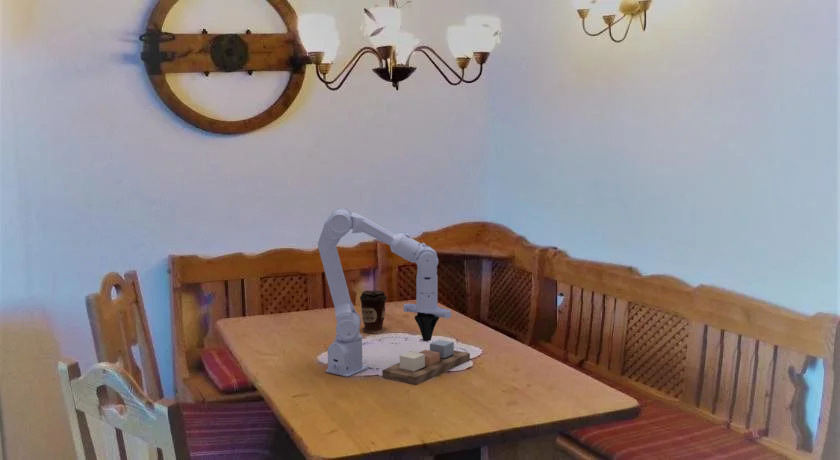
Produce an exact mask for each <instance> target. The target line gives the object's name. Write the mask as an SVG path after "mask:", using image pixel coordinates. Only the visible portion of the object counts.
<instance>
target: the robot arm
mask: <svg viewBox="0 0 840 460" xmlns="http://www.w3.org/2000/svg"><path fill="white" fill-rule="evenodd" d="M351 230H352V232H351V234H358V233H359V234H360V233H363V234H366V235H368V236H370V237H372V238H374V239H376V240H378V241H380V242H382V243H384V244H385V245H388V246H389V247H390V251H391V253H393V254H395V255H397V256H399V257H401V258H403V260H406V261H408V262H410V263H415V264H416V266H417V272H416V273H417V274H416V280H415V281H416V296H415V297H416V299H415V300H416V302H415V303H416V304H414V303H405V304H403V312H404V313H408V312H409V313H415V314H416V315H414V320H415V322H416V323H417V325H418V328H419V330H420V334H421V337H422V338H421V339H422V342H429V341H432V336H433V334H434V329H435V326H436V325H437V322H439V319H440V318H444V319H445V320H448V319H451V318H452V310H450V309H445V308H443V307H439V306H438V277H439V276H438V274H437V273H438V268H437V267H438V265H439V263H440V262H439V258H438V254H437V252H436V250H435V249H434V248H432V246H430V245H427V244H426V243H425V242H422V243H421V242H419V241H417V240H415V239H413V238H412V237H411V234H409V233H407V232H406V233H405V234H404V233H402V232H400V233H397V234H394V233H393V232H391V231H389V230H387V229H386V228H384V227H382V226H381V225H379V224H377V223H376V222H373V220H371V219H369V218H367V217H365V216H363V215H361V214H359V213H357V212H354V211H352V212H351V211H350V210H349V209H347V208H343V207H341V208H337V209H335V210H333V211H332V212H331V214H330V215H329V216H328V218H327V219H326V221H325V222H324V223H323V227H322V230H321V233H320V235H319V238H318V241H317V249H318V251H319V256H320V260H321V264H322V265H323V266H322V267H323V270H324V273H325V278H326V281H327V284H328V288H329V292H330V296H331V299H332V303H333V305H334V314H335V319H336V325H335V332H336V333H335V334H336V335H335V340H334V341H333V342H331V344H329V346H328V348H327V369H325V372H326V373H329V374H334V375H338V376H343V377H345V378H346V377H350V376H351V377H352V376H353V375H356V374H357V373H360V372H364V371H365V370H368V369H370V366H369V365H365V364H363V335H362V334H361V333H360V327H361V324H362V320H361V319H362V318H361V316H360V315H359V313H358V312H357V311H356V310H355V306H354V304H353V301H352V300H351V297H350V292H349V288H348V285H347V281H346V277H345V274H344V271H343V266H342V262H341V258H340V256H339V255H340V254H339V251H338V248H337V245H338V244H339V242H340V241H341V239H342V237H345V236H346V234H348V233H349V232H350V231H351Z"/></svg>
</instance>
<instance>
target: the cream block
mask: <svg viewBox="0 0 840 460" xmlns="http://www.w3.org/2000/svg"><path fill="white" fill-rule="evenodd" d="M399 363H400V368H401V369H406V370H410V371H416V370H419V369H421V368H423V367H425V354H422V353H419V352H417V351H412V350H411V351H408V352H404V353H403V354H400V355H399Z"/></svg>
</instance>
